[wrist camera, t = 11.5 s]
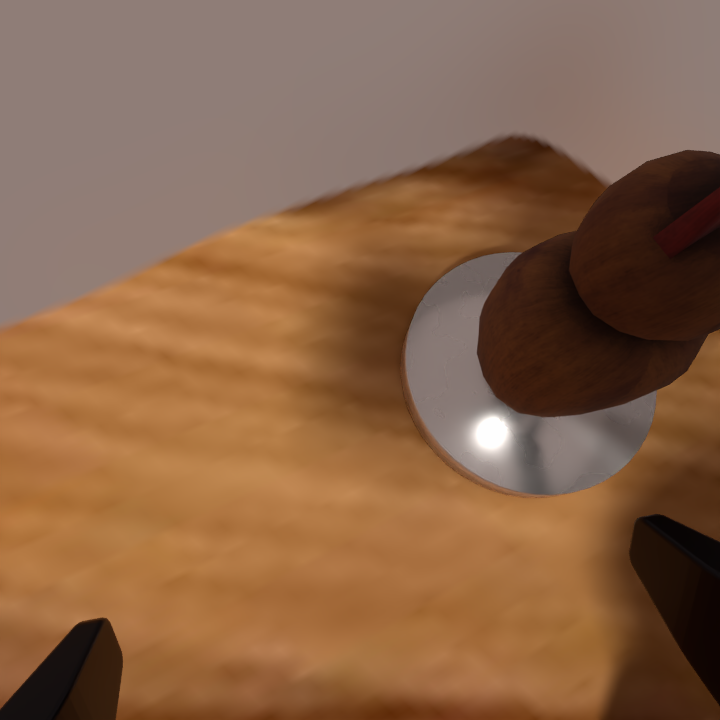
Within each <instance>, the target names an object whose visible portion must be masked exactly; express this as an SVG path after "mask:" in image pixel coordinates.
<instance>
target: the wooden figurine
mask: <svg viewBox="0 0 720 720" xmlns="http://www.w3.org/2000/svg"><path fill="white" fill-rule="evenodd" d="M719 329H720V155H719V154H716V153H713V152H706V151H693V150H685V151H682V152H679V153H675V154H671V155H668V156H664V157H661V158H657V159H654V160H650V161H647V162H645V163H644V164H642V165H641V166H639V167H638V168H636V169H635V170H633V171H632V172H630V173H629V174H627V175H626V176H624V177H623V178H621V179H620V180H618V181H617V182H615V183H614V184H612V185H610V186H609V187H608V188H607V189H606V190H605V192H604V193H603V194H602V195H601V196H600V197H599V198H598V199H597V200H596V201H595V203H594V204H593V206H592V207H591V208H590V210H589V211H588V213H587V214H586V216H585V218H584V219H583V221H582V223H581V225H580V227H579V228H578V230H577V231H574V232H569V233H565V234H560V235H557V236H555V237H553V238H551V239H549V240H547V241H545V242H543V243H540V244H538V245H536V246H534V247H532V248H531V249H529V250H527V251H525V252H523V253H522V254H520V255H518V256H517V257H516V258H515V259H514V260H513V261H512V262H511V264H510V265H509V266H508V267H507V268H506V269H505V271H504V272H503V274H502V275H501V277H500V278H499V280H498V281H497V283H496V284H495V286H494V288H493V289H492V291H491V292H490V294H489V296H488V297H487V299H486V301H485V303H484V305H483V308H482V311H481V315H480V318H479V335H478V345H477V356H478V359H479V363H480V367H481V370H482V374H483V377H484V378H485V380H486V382H487V383H488V385H489V387H490V388H491V390H492V391H493V393H494V395H495V396H496V398H498V399H499V400H501V401H502V402H503V403H505V404H506V405H508V406H509V407H510V408H512V409H513V410H515V411H516V412H517V413H521V414H527V415H533V416H539V417H561V416H572V415H581V414H586V413H590V412H594V411H598V410H602V409H607V408H611V407H615V406H619V405H623V404H626V403H628V402H630V401H633V400H635V399H638V398H640V397H642V396H645V395H647V394H649V393H652V392H654V391H656V390H658V389H660V388H663V387H665V386H667V385H669V384H671V383H672V382H673V381H674V380H676V379H677V378H678V377H680V376H681V375H682V374H684V373H685V372H686V371H687V370H688V368H689V367H690V365H691V363H692V362H693V360H694V358H695V357H696V355H697V353H698V352H699V350H700V348H701V346H702V344H703V343H704V341H705V339H706V337H707V335H708V334H709V333H712V332H714V331H717V330H719Z"/></svg>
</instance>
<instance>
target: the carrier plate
mask: <svg viewBox="0 0 720 720" xmlns="http://www.w3.org/2000/svg"><path fill="white" fill-rule="evenodd" d="M520 254H522V253H519V252H508V253H496V254H491V255H485V256H482V257H479V258H475V259H472V260H470V261H467V262H465V263H463V264H461V265H459V266H457V267H456V268H454V269H452V270H451V271H449V272H448V273H446V274H445V275H444V276H443V277H442V278H440V279H439V280H438V281H437V282H436V283H435V284H434V285H433V286H432V287H431V289H430V290H429V291H428V292H427V293H426V294H425V296H424V298H423V299H422V301H421V302H420V304H419V306H418V307H417V310H416V312H415V314H414V317H413V319H412V321H411V324H410V326H409V328H408V331H407V333H406V336H405V340H404V344H403V347H402V355H401V382H402V388H403V394H404V397H405V401H406V404H407V408H408V410H409V412H410V415H411V417H412V419H413V422H414V424H415V425H416V427H417V429H418V430H419V432H420V434H421V435H422V437H423V438H424V440H425V441H426V442H427V444H428V445H429V446H430V447H431V449H432V450H433V451H434V452H435V453H436V454H437V455H438V456H439V457H440V458H441V459H442V460H443V461H444V462H445V463H446V464H447V465H448V466H450V467H451V468H452V469H453V470H455V471H456V472H457V473H459V474H460V475H462V476H463V477H465V478H467V479H468V480H470V481H472V482H473V483H475V484H477V485H480V486H482V487H484V488H487V489H489V490H492V491H495V492H498V493H502V494H505V495H510V496H516V497H523V498H543V497H552V496H558V495H563V494H567V493H572V492H576V491H579V490H583V489H587V488H590V487H592V486H594V485H597V484H599V483H601V482H603V481H605V480H607V479H608V478H610V477H611V476H613V475H614V474H616V473H617V472H618V471H620V470H621V469H622V468H623V467H624V466H625V465H626V464H627V463H628V462H629V461H630V460H631V459H632V458H633V456H634V455H635V454H636V453H637V451H638V450H639V449H640V447H641V445H642V443H643V442H644V440H645V438H646V436H647V434H648V431H649V429H650V426H651V424H652V420H653V416H654V411H655V406H656V393H657V390H656V391H654V392H652V393H649V394H647V395H645V396H642V397H640V398H638V399H635V400H633V401H630V402H628V403H626V404H623V405H619V406H615V407H611V408H607V409H602V410H598V411H594V412H590V413H586V414H581V415H572V416H561V417H539V416H533V415H527V414H521V413H517V412H516V411H515V410H513V409H512V408H510V407H509V406H508V405H506V404H505V403H503V402H502V401H501V400H499V399H498V398H496V396H495V395H494V393H493V391H492V390H491V388H490V387H489V385H488V383H487V382H486V380H485V378H484V377H483V374H482V370H481V367H480V363H479V359H478V356H477V345H478V335H479V318H480V315H481V311H482V308H483V305H484V303H485V301H486V299H487V297H488V296H489V294H490V292H491V291H492V289H493V288H494V286H495V284H496V283H497V281H498V280H499V278H500V277H501V275H502V274H503V272H504V271H505V269H506V268H507V267H508V266H509V265H510V264H511V262H512V261H513V260H514V259H515V258H516V257H517V256H518V255H520Z"/></svg>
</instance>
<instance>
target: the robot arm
mask: <svg viewBox="0 0 720 720" xmlns="http://www.w3.org/2000/svg"><path fill="white" fill-rule="evenodd" d="M629 555H630V560H631V563H632V566H633V568H634V570H635V571H636V573H637V575H638V577H639V578H640V580H641V582H642V584H643V585H644V587H645V589H646V591H647V592H648V594H649V596H650V598H651V599H652V601H653V603H654V605H655V606H656V608H657V610H658V612H659V613H660V615H661V617H662V619H663V620H664V622H665V624H666V626H667V627H668V629H669V631H670V633H671V634H672V636H673V638H674V639H675V641H676V643H677V644H678V646H679V648H680V649H681V651H682V652H683V654H684V655H685V657H686V658H687V660H688V661H689V663H690V664H691V666H692V667H693V668H694V670H695V671H696V673H697V674H698V676H699V677H700V678H701V680H702V681H703V683H704V684H705V686H706V687H707V689H708V690H709V691H710V693H711V694H712V696H713V697H714V699H715V700H716V701H717V703H718V704H719V706H720V542H719V541H717V540H715V539H713V538H710V537H708V536H706V535H704V534H702V533H700V532H698V531H696V530H693V529H691V528H689V527H687V526H685V525H683V524H681V523H679V522H677V521H674V520H672V519H670V518H668V517H666V516H664V515H660V514H654V515H649V516H644V517H639V518H637V520H636V521H635V523H634V527H633V533H632V539H631V545H630V551H629ZM122 668H123V656H122V651H121V648H120V646H119V643H118V641H117V638H116V636H115V633H114V631H113V628H112V626H111V623H110V622H109V620H108V619H107V618H97V619H92V620H86V621H82V622H80V623H78V624H77V625H75V626H74V627H73V629H72V630H71V631H70V632H69V633H68V634H67V635H66V636H65V637H64V639H63V640H62V641H61V642H60V643H59V644H58V645H57V646H56V648H55V649H54V650H53V651H52V652H51V653H50V654H49V655H48V656H47V658H46V659H45V660H44V661H43V662H42V663H41V664H40V665H39V666H38V668H37V669H36V670H35V671H34V672H33V673H32V674H31V675H30V677H29V678H28V679H27V680H26V681H25V682H24V683H23V684H22V685H21V687H20V688H19V689H18V690H17V691H16V692H15V693H14V694H13V695H12V697H11V698H10V699H9V700H8V701H7V702H6V703H5V704H4V705H3V707H2V708H1V709H0V720H116V713H117V706H118V698H119V691H120V683H121V676H122Z"/></svg>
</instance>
